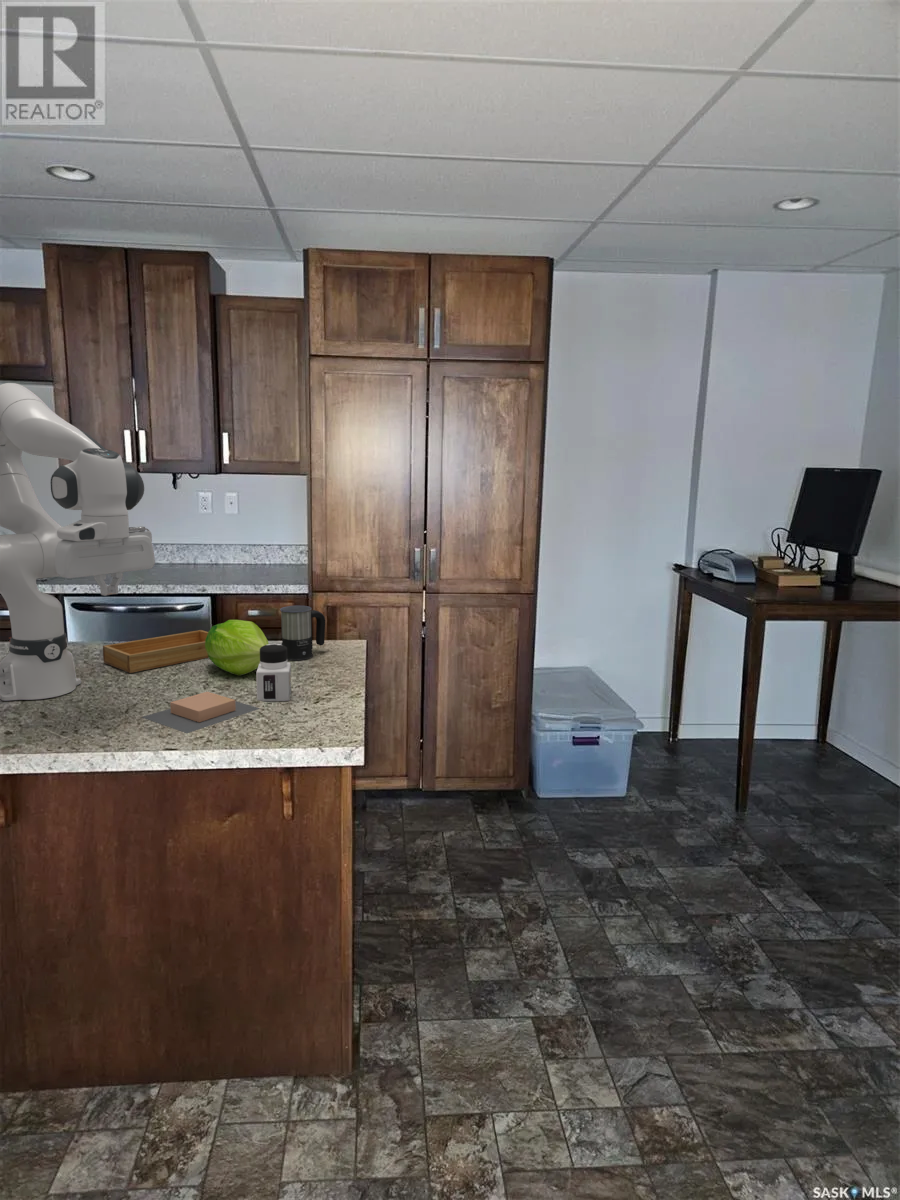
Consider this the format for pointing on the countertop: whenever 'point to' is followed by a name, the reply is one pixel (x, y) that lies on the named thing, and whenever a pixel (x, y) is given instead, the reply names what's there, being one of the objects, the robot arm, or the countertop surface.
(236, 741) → the countertop surface
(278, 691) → the container
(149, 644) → the tray
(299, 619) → the milk frother
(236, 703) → the mat
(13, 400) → the robot arm
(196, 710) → the block
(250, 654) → the lettuce
